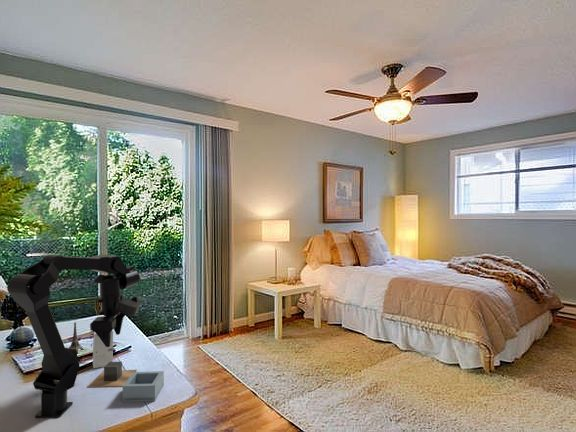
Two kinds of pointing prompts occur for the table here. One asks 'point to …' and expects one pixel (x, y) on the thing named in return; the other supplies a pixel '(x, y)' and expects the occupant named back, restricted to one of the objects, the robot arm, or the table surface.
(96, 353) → the skincare box
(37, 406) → the table surface
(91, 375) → the table surface
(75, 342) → the eiffel tower figurine
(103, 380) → the lid
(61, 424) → the table surface
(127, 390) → the grey open-top tray
